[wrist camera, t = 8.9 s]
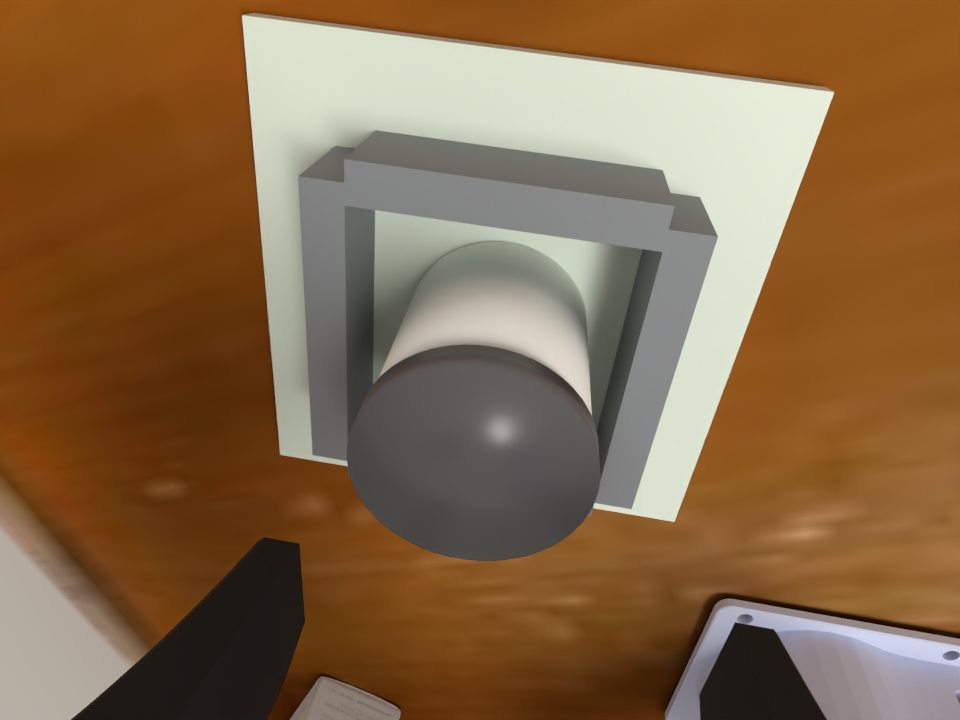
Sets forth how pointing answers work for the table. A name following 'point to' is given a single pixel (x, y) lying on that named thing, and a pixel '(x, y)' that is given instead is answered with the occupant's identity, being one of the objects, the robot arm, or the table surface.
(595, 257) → the mount board
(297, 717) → the skincare box
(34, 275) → the table surface
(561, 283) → the lens cylinder
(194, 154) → the table surface
